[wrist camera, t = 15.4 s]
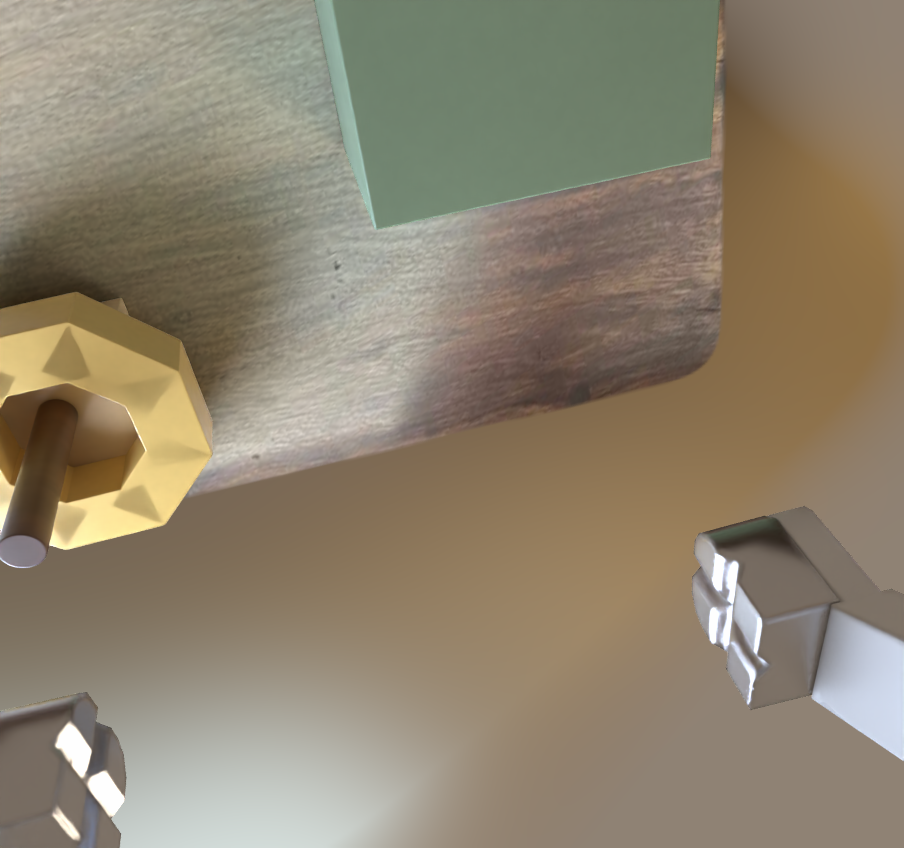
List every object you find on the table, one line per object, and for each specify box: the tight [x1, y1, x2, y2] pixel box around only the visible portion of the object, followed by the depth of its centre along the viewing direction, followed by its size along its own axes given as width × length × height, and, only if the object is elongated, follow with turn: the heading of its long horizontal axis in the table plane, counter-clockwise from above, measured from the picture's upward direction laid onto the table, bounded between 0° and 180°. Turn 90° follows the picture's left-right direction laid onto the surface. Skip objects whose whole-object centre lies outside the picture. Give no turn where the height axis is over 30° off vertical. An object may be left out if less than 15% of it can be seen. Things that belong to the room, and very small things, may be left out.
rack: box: [0, 298, 138, 568], centre depth 37 cm, size 9×9×11 cm
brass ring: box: [0, 292, 213, 550], centre depth 40 cm, size 12×12×3 cm
